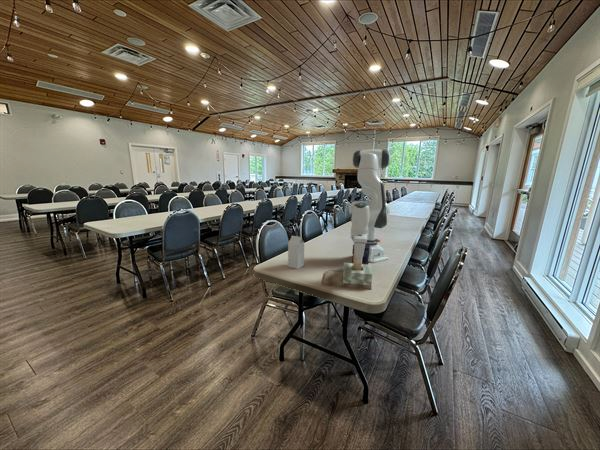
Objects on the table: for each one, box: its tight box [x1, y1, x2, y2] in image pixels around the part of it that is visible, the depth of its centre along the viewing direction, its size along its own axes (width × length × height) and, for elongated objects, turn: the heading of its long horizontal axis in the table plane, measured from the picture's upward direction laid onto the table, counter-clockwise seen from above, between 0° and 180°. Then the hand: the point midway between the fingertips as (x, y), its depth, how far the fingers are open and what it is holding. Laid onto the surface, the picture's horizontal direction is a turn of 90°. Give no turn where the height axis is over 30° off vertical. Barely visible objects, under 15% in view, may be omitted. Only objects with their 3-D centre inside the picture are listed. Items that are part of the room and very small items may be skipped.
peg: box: [352, 248, 362, 270], centre depth 130 cm, size 4×4×14 cm
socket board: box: [322, 262, 373, 290], centre depth 132 cm, size 24×16×8 cm, turn 79°
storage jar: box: [351, 243, 370, 265], centre depth 148 cm, size 10×10×15 cm
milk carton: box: [287, 235, 305, 270], centre depth 151 cm, size 7×7×19 cm
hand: (357, 260), depth 130 cm, fingers closed on peg, 4 cm apart
